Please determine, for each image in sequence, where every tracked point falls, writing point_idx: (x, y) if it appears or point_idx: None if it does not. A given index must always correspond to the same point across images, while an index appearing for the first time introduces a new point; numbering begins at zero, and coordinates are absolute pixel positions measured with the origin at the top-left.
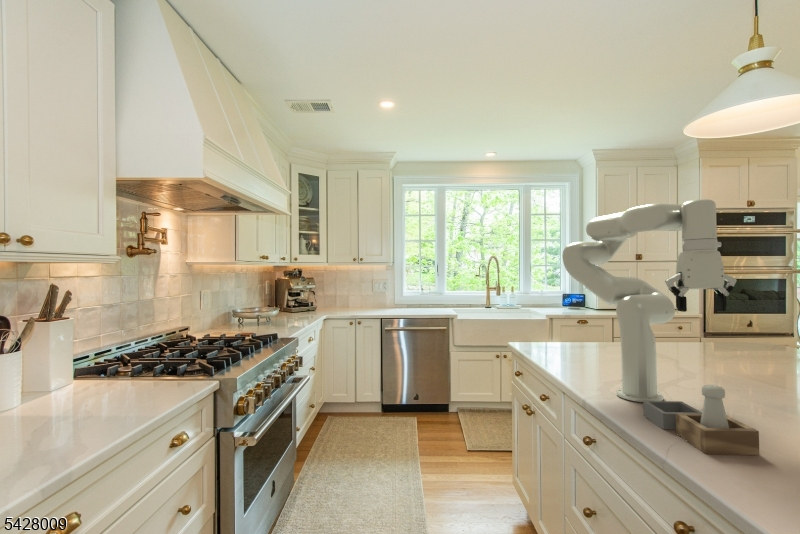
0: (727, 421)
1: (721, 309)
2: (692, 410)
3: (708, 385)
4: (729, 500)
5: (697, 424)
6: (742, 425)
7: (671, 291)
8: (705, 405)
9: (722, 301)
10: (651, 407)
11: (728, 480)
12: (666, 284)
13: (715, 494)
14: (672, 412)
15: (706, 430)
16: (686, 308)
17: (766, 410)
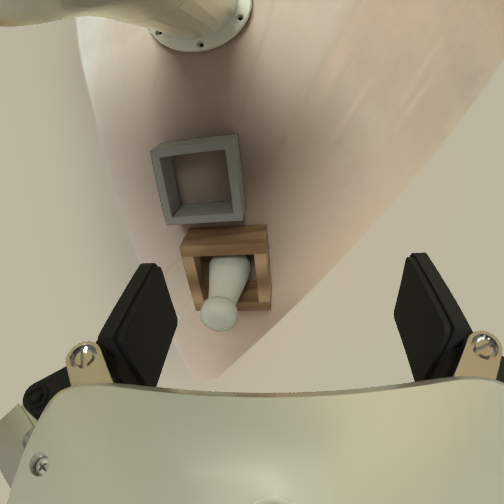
0: (244, 285)
1: (397, 312)
2: (231, 194)
3: (210, 319)
4: (186, 359)
5: (195, 292)
6: (262, 292)
7: (51, 382)
8: (208, 298)
9: (409, 360)
10: (157, 184)
11: (200, 336)
12: (4, 417)
13: (179, 353)
14: (184, 217)
15: (198, 310)
16: (172, 335)
17: (435, 91)
